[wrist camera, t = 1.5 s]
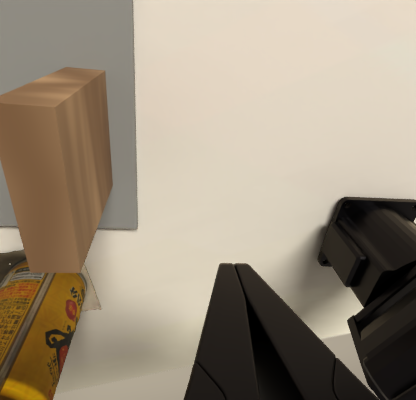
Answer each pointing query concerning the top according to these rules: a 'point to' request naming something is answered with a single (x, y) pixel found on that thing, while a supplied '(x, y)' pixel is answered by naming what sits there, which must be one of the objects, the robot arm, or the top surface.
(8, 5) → the mat
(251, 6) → the top surface
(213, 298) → the robot arm
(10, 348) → the condiment
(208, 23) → the top surface
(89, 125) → the wooden block
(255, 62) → the top surface
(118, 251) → the top surface
